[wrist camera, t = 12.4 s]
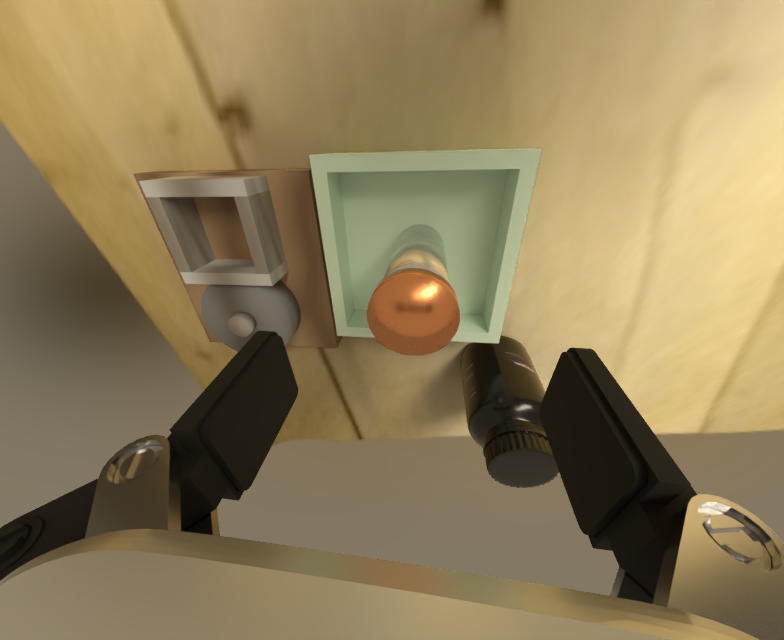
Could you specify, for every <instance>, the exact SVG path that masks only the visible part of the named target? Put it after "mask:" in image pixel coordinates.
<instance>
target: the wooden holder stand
mask: <svg viewBox="0 0 784 640" xmlns="http://www.w3.org/2000/svg"><path fill="white" fill-rule="evenodd" d="M134 176H135V179H136V181H137V183H138V185H139V187H140V189H141V192H142V194H143V196H144V198H145V200H146V203H147V205H148V207H149V209H150V211H151V214H152V216H153V218H154V220H155V222H156V224H157V227H158V229H159V231H160V233H161V235H162V238H163V240H164V242H165V244H166V246H167V249H168V251H169V253H170V255H171V257H172V259H173V262H174V264H175V266H176V268H177V270H178V273H179V275H180V277H181V279H182V281H183V283H184V286H185V288H186V290H187V292H188V294H189V297H190V299H191V301H192V303H193V305H194V308H195V310H196V312H197V314H198V316H199V318H200V321H201V323H202V325H203V327H204V329H205V332H206V334H207V336H208V338H209V340H210V342H223V343H224V344H226V345H227V346H229V347H231V348H232V349H234V350H236V351H240V350H241V349H242V347H243V346H244V345H245V344H246V343H247V342H248V341H249V340H250V338H251V337H252V336H253V335H254V334H255V333H256V332H257V331H274V332H276V333H277V334H278V336H281V337H282V339H283V342H284V345H285V346H304V347H323V348H337V347H338V345H339V343H340V340H341V338H342V336H337V331H336V324H335V318H334V312H333V305H332V299H331V292H330V286H329V280H328V273H327V267H326V261H325V254H324V248H323V241H322V235H321V229H320V222H319V216H318V209H317V203H316V197H315V190H314V184H313V178H312V171H311V169H263V170H213V171H163V172H147V173H137V174H134Z"/></svg>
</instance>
